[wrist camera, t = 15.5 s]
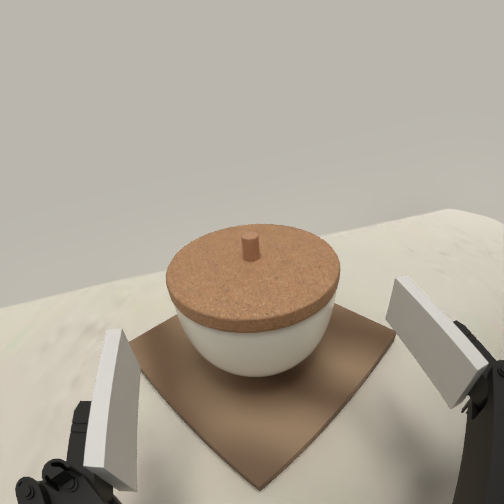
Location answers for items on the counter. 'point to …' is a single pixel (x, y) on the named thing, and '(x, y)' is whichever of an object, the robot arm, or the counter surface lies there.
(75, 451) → the robot arm
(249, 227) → the lidded jar
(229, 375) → the walnut board
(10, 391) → the counter surface
